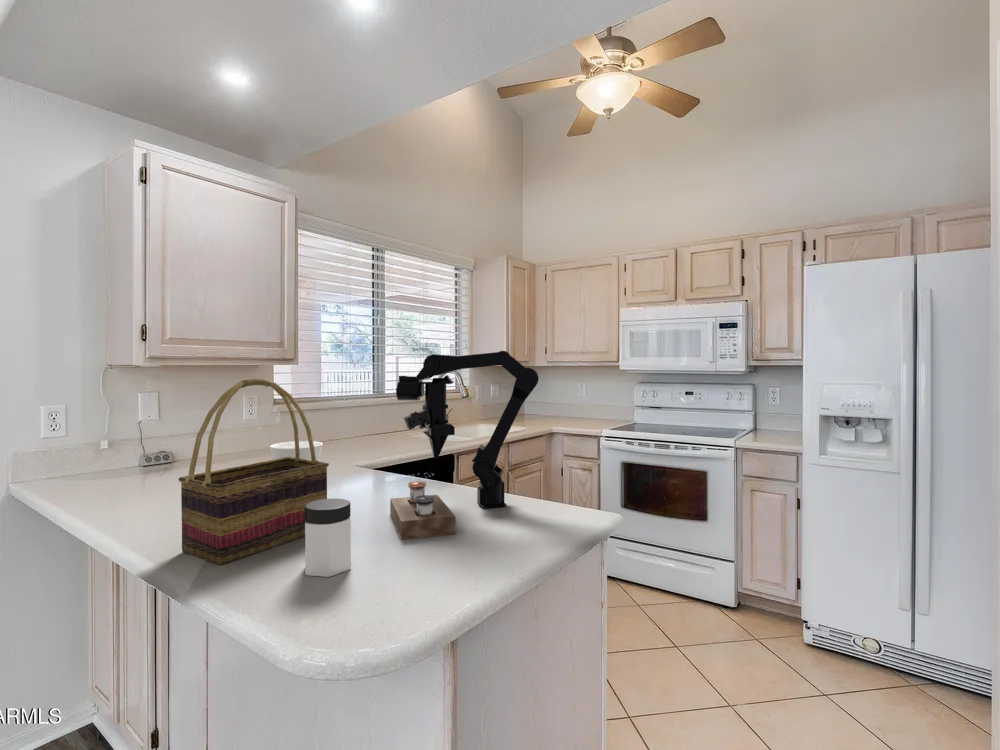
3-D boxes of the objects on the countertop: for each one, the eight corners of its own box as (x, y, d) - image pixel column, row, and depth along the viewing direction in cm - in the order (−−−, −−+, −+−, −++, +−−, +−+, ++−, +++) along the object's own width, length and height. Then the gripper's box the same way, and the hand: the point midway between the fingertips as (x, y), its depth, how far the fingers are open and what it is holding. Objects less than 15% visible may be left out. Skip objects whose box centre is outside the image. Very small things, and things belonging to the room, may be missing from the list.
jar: (337, 555, 100) (336, 495, 100) (361, 566, 95) (361, 502, 95) (294, 569, 93) (293, 505, 93) (317, 581, 88) (317, 513, 88)
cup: (258, 505, 137) (258, 446, 137) (296, 493, 150) (296, 439, 149) (297, 510, 132) (297, 449, 132) (333, 497, 145) (333, 442, 144)
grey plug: (432, 523, 119) (432, 494, 119) (436, 529, 115) (436, 499, 115) (413, 525, 117) (413, 496, 117) (416, 531, 113) (416, 500, 113)
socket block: (437, 509, 132) (437, 494, 132) (455, 533, 113) (455, 516, 113) (390, 514, 128) (390, 498, 128) (401, 539, 109) (401, 521, 109)
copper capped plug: (424, 507, 128) (424, 480, 128) (427, 511, 124) (427, 484, 124) (407, 508, 127) (407, 481, 127) (409, 513, 123) (409, 485, 123)
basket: (218, 568, 94) (216, 380, 94) (176, 553, 102) (174, 379, 101) (331, 528, 117) (330, 377, 117) (290, 519, 125) (289, 376, 124)
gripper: (401, 399, 144) (401, 454, 144) (411, 403, 126) (411, 466, 127) (439, 398, 148) (439, 451, 148) (455, 402, 130) (455, 463, 130)
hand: (435, 457), depth 138 cm, fingers closed
